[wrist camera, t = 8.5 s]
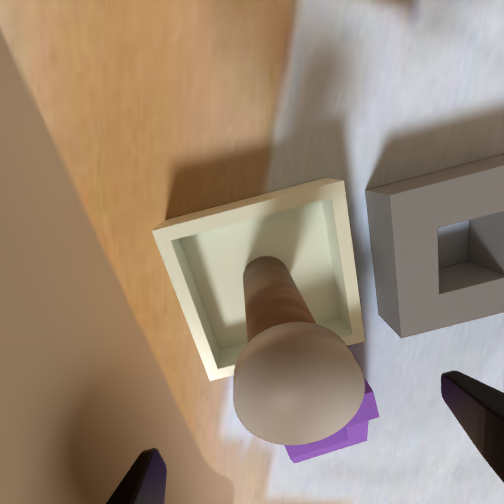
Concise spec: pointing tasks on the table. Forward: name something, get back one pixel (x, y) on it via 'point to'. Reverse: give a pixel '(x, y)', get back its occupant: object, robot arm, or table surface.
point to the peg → (291, 364)
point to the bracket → (340, 432)
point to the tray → (257, 245)
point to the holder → (426, 247)
